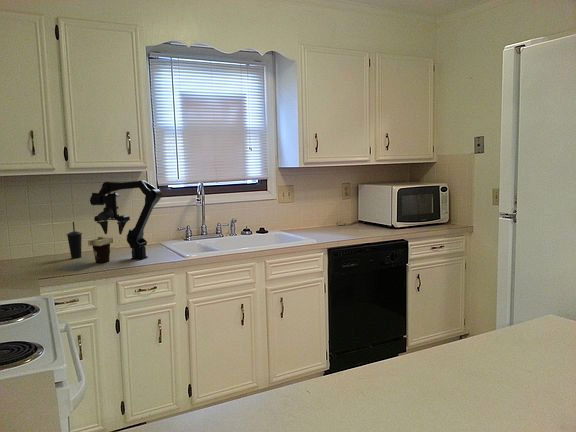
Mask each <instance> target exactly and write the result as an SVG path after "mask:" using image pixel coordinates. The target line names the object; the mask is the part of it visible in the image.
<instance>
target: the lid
mask: <svg viewBox="0 0 576 432" xmlns="http://www.w3.org/2000/svg"><path fill="white" fill-rule="evenodd" d="M113 243H114V238H113V237H103V236H99V237H97V238H93V239H89V240H87V244H88V245H87V246H88V247H89V246H90V247H93V246H102V245H106V244H110V245H111V244H113Z"/></svg>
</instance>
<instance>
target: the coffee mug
mask: <svg viewBox="0 0 576 432" xmlns="http://www.w3.org/2000/svg"><path fill="white" fill-rule="evenodd" d="M92 250H93V255H94V261H95V264H107V263H109V262H110V258H111V257H110V255H111V243H110V244H106V245H102V246H92Z"/></svg>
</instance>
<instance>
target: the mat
mask: <svg viewBox="0 0 576 432" xmlns="http://www.w3.org/2000/svg"><path fill="white" fill-rule="evenodd" d="M99 265H100V263H91V262H90V263H89V262H76V263H72V264H70V265H69V264H68V265H66V266H63V267H58V268H56V269H54V271H66V272H79V271H82V270H85V269H89V268H92V267H94V266H95V267H96V266H99Z"/></svg>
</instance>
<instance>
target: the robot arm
mask: <svg viewBox="0 0 576 432" xmlns="http://www.w3.org/2000/svg"><path fill="white" fill-rule="evenodd" d="M128 189H140V191H141V192H142V194H143V195H145V196H144V204H143V207H142V210H141V212H140V215H139V217H138V219H137V222H136V223H135V226H134V228H130V229H129V230H128V232H127V235H126V242H127V244H128V245H129V248H130V249H131V258H130V260H139V261H140V260H144V259H147V258H149V256H147V252H146V251H147V248H146V246H147V244H148V241H147V240H146V239H145V238H144V233H145V232H144V230H145V227H146V224H147V222H148V221H149V217H150V216H151V214H152V212H153V209H154V207H155V206H156V205H157V204H158V202H159V201H160V200H161V198H162V197H163V193H162V191H161V190H160V189H158V188H156V187H155V186H154V185H152V184H151V183H148V182H147V181H146V180H145V179H141V180H136V181H124V182H123V181H122V182H121V181H104V182H103V183H102V185H101V188H100V190H99V191H98V192H92V193H91V196H90V199H89V203H90V205H91V206H105V207H103V211H101V212H99V213H98V214H97V215H95V216H94V217H93V220H94V222H96V223H97V224H99V225H100V226H101V228H102V231H103V232H104V235H107V234H108V225H109V221H117V222H116V223H117V225H118V227H117V228H118V234H119V235H120V236H121V235H122V233H123V230H124V228H125V226H126V225H127V223H129V221H131V219H130V218H131V217H130V216H129V215H128V214H124V215H123V214H122V215H120V214H119V213H118V210H119V206H118V205H117V197H120V196H121V195H120V194H119V193H118V192H117V191H121V190H128Z"/></svg>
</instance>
